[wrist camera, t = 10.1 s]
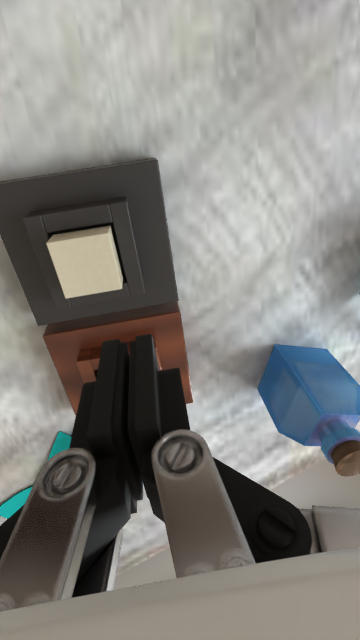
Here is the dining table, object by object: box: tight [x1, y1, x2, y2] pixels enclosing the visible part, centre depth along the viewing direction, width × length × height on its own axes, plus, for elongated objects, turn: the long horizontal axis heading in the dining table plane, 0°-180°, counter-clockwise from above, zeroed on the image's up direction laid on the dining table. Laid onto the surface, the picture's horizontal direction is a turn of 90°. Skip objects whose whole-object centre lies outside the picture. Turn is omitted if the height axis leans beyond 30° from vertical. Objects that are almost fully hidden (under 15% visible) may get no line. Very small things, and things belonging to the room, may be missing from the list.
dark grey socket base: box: [0, 158, 178, 326], centre depth 25 cm, size 11×12×4 cm
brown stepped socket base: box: [43, 302, 193, 415], centre depth 31 cm, size 11×12×4 cm
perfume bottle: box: [258, 344, 360, 476], centre depth 31 cm, size 6×6×12 cm
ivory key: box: [46, 226, 123, 298], centre depth 22 cm, size 4×4×2 cm
